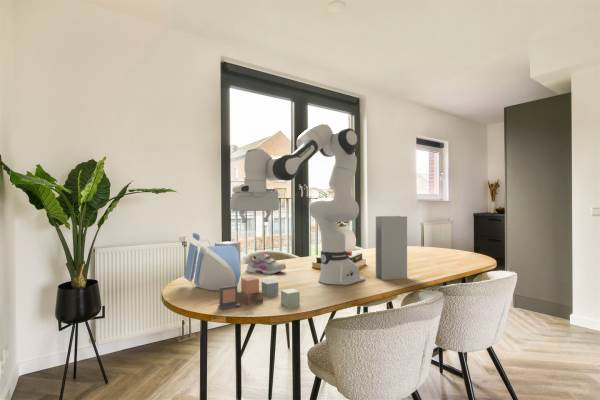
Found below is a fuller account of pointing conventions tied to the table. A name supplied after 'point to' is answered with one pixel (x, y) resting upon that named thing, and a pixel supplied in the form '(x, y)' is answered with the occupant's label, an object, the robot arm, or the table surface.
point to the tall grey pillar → (391, 247)
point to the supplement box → (228, 243)
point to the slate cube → (270, 288)
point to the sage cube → (290, 297)
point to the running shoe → (264, 264)
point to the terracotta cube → (250, 285)
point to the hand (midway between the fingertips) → (255, 222)
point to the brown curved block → (249, 298)
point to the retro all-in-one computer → (213, 266)
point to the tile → (228, 297)
